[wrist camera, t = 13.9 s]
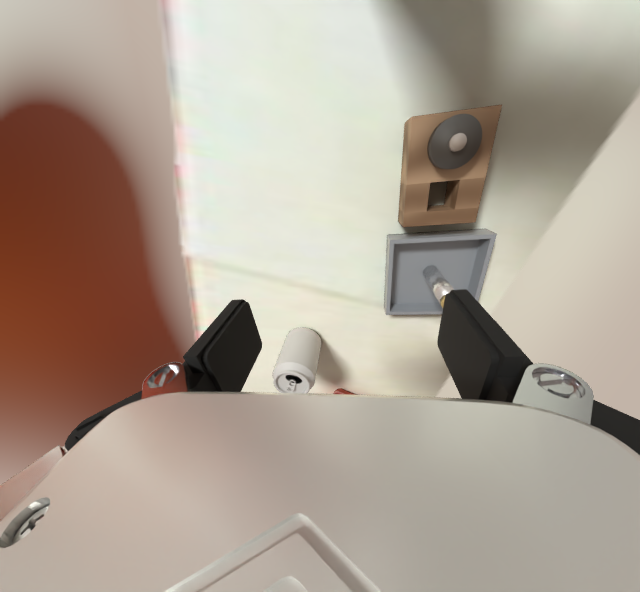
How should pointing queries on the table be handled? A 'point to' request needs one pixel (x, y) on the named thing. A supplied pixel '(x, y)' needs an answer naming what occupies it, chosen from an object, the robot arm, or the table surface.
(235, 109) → the table surface
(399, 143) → the table surface
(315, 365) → the can
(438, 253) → the tray
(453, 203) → the block
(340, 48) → the table surface
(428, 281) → the lock pin
